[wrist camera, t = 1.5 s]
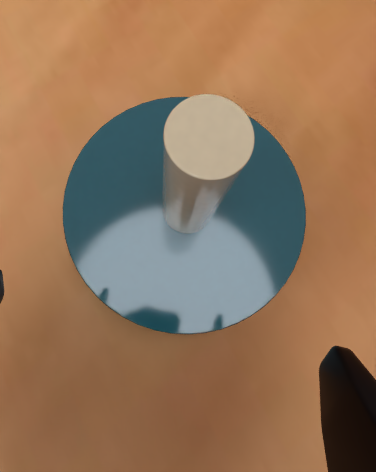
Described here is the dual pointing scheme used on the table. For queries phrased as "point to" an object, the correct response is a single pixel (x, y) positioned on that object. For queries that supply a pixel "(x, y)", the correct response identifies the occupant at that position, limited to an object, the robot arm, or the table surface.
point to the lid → (184, 214)
